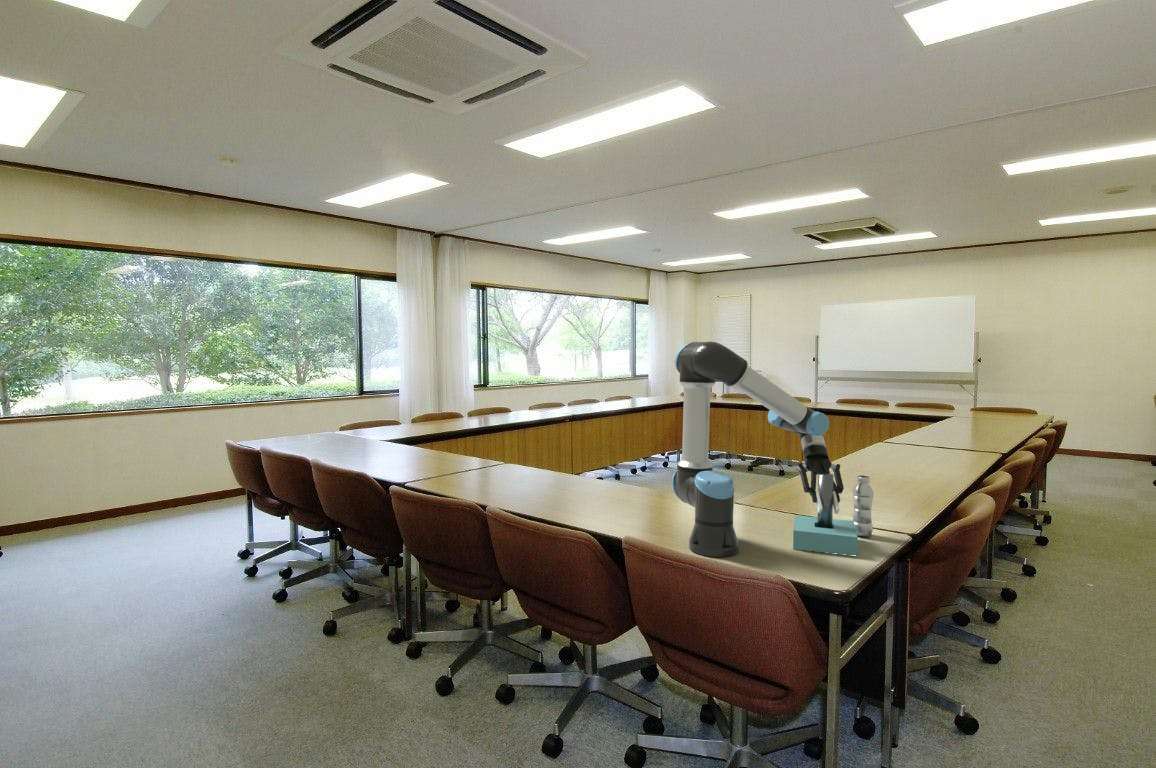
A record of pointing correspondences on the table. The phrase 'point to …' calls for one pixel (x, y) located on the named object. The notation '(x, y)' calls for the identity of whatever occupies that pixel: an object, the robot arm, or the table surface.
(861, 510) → the plastic bottle
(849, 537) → the socket block
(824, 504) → the pin
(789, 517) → the table surface
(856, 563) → the table surface
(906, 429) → the table surface
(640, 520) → the table surface
